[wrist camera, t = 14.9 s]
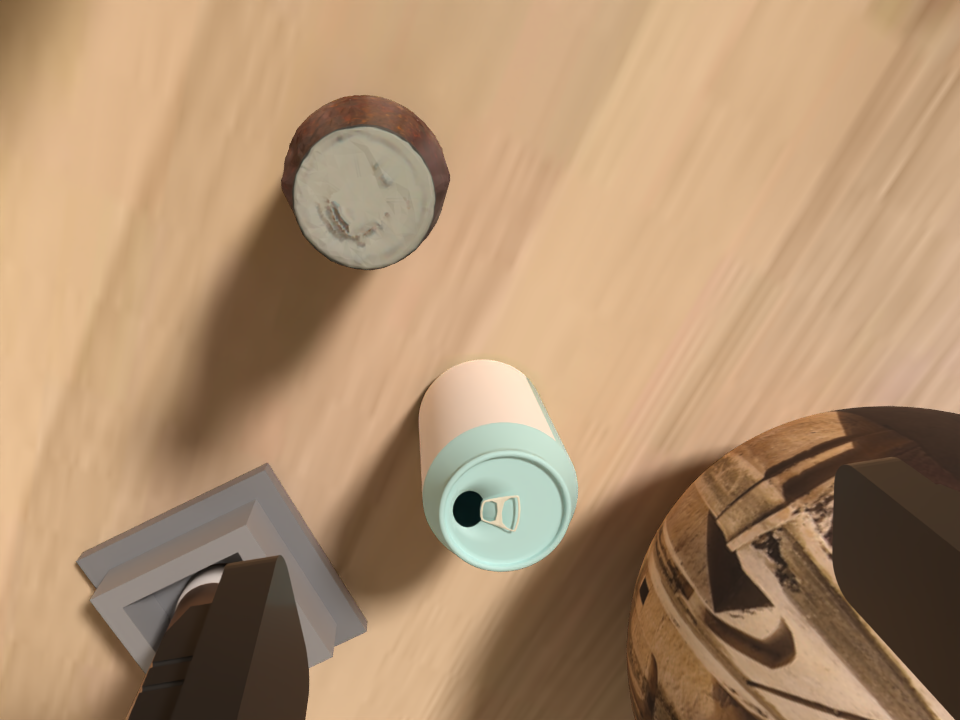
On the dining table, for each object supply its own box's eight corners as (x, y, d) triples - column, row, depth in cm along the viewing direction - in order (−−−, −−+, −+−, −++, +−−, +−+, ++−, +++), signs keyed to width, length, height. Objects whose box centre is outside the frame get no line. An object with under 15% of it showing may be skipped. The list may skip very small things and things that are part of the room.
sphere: (1034, 398, 48) (1643, 669, 25) (873, 729, 55) (1233, 1198, 31) (656, 299, 44) (949, 508, 21) (530, 669, 51) (642, 1155, 27)
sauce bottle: (314, 228, 42) (240, 320, 23) (302, 103, 40) (209, 89, 21) (439, 222, 42) (468, 307, 23) (432, 98, 40) (458, 80, 21)
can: (462, 492, 47) (481, 613, 35) (394, 399, 45) (391, 496, 33) (563, 429, 46) (615, 531, 35) (499, 332, 44) (532, 406, 33)
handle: (168, 582, 46) (88, 739, 34) (239, 548, 45) (182, 694, 34) (211, 642, 47) (148, 811, 36) (280, 609, 47) (238, 769, 35)
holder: (82, 552, 46) (53, 591, 42) (267, 462, 45) (255, 494, 41) (194, 703, 49) (177, 752, 45) (367, 621, 49) (364, 664, 45)
